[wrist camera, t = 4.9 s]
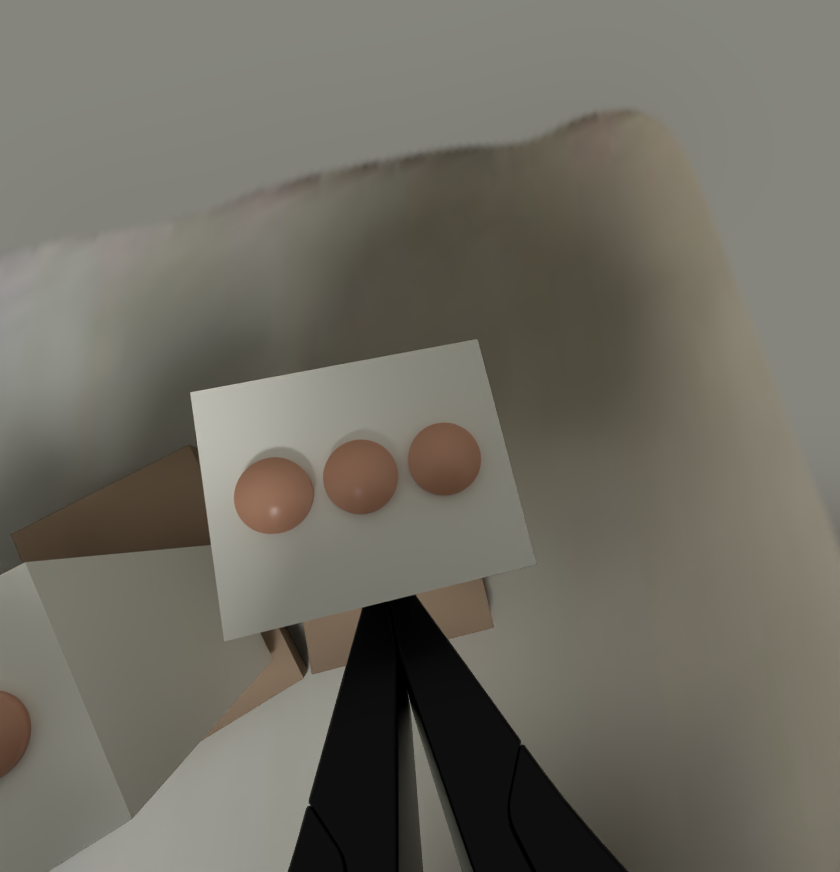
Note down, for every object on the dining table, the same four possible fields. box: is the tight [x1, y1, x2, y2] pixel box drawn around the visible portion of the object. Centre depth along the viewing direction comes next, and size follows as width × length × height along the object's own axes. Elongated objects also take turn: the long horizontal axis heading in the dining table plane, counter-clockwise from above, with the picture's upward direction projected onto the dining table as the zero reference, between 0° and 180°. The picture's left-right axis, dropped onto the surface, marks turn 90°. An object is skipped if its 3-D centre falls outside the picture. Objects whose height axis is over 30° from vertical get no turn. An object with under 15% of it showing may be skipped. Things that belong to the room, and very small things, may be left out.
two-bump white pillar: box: [0, 545, 273, 872], centre depth 10 cm, size 4×5×8 cm
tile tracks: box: [11, 445, 494, 741], centre depth 15 cm, size 22×16×1 cm
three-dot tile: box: [190, 339, 537, 641], centre depth 11 cm, size 4×5×8 cm
